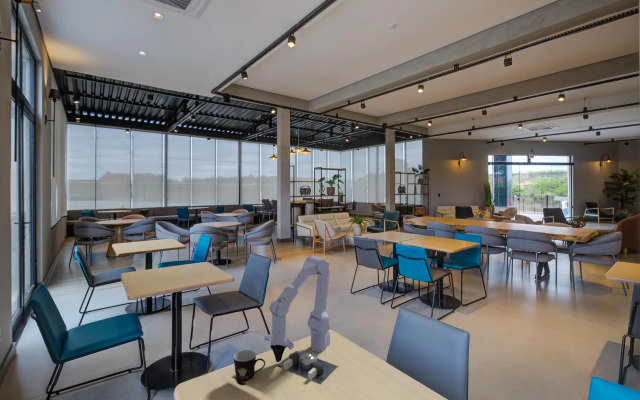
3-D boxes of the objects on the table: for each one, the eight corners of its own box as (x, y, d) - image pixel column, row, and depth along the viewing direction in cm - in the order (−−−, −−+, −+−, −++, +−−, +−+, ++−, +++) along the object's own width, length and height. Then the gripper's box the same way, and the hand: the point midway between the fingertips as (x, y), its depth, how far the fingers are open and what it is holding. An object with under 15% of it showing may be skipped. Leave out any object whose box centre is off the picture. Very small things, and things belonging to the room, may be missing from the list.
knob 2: (316, 367, 126) (316, 360, 125) (325, 370, 123) (325, 363, 123) (304, 378, 118) (304, 370, 118) (313, 381, 116) (314, 374, 116)
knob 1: (293, 358, 132) (293, 351, 132) (301, 361, 130) (301, 354, 130) (280, 368, 125) (280, 360, 125) (289, 371, 123) (289, 364, 122)
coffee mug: (228, 382, 118) (228, 357, 117) (244, 371, 125) (244, 347, 125) (252, 392, 112) (252, 366, 112) (266, 379, 120) (266, 354, 119)
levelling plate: (296, 353, 138) (296, 341, 138) (338, 369, 127) (338, 356, 126) (275, 369, 127) (275, 355, 126) (320, 388, 115) (320, 373, 115)
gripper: (259, 328, 128) (259, 359, 129) (286, 337, 120) (286, 371, 121) (270, 322, 134) (270, 352, 134) (297, 330, 126) (296, 362, 127)
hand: (278, 360), depth 128 cm, fingers closed
